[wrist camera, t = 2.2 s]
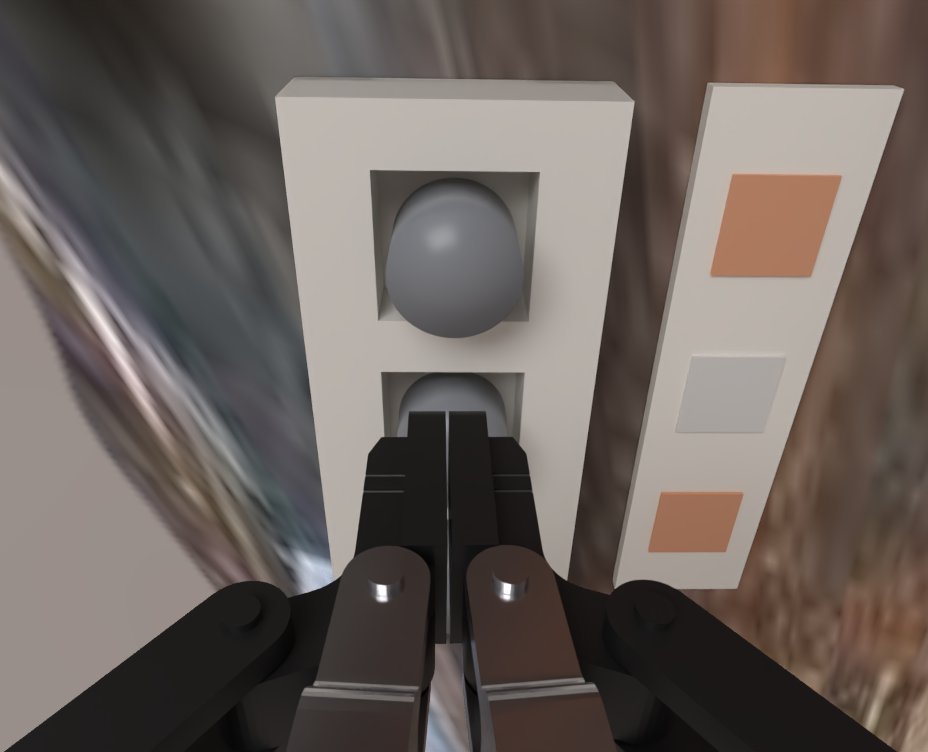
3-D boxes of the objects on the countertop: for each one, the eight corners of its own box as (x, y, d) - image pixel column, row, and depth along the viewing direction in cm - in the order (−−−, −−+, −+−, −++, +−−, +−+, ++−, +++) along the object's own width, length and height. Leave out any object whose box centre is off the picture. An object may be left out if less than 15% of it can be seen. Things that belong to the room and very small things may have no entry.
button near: (519, 178, 22) (528, 211, 19) (512, 294, 24) (519, 338, 22) (389, 176, 22) (382, 210, 19) (394, 294, 24) (388, 338, 21)
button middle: (507, 369, 26) (514, 418, 23) (502, 455, 28) (508, 508, 25) (397, 368, 26) (392, 417, 23) (400, 454, 28) (396, 508, 25)
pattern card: (893, 85, 23) (906, 90, 22) (732, 579, 35) (738, 591, 34) (707, 82, 22) (715, 87, 22) (612, 579, 35) (615, 591, 34)
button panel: (613, 81, 22) (634, 102, 20) (551, 579, 35) (559, 631, 32) (294, 76, 22) (275, 96, 20) (347, 580, 34) (339, 632, 32)
